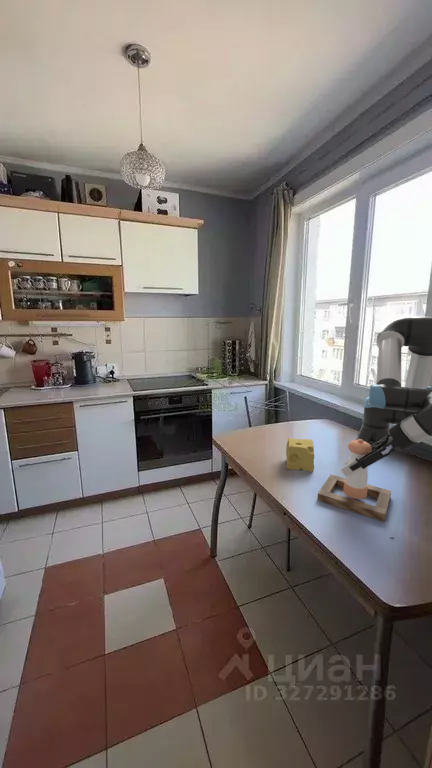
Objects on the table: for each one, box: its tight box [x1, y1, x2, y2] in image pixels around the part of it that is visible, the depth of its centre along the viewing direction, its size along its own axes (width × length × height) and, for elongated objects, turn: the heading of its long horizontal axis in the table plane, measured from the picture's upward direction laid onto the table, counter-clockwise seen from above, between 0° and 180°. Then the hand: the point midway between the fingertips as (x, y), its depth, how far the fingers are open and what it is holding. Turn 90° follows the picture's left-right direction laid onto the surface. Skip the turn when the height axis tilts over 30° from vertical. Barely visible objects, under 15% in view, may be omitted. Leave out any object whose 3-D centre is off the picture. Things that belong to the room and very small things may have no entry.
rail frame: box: [317, 474, 392, 523], centre depth 106 cm, size 20×16×2 cm
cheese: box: [285, 437, 315, 473], centre depth 129 cm, size 10×11×10 cm
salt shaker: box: [342, 439, 372, 500], centre depth 104 cm, size 7×7×19 cm
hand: (345, 468), depth 106 cm, fingers closed on salt shaker, 5 cm apart
